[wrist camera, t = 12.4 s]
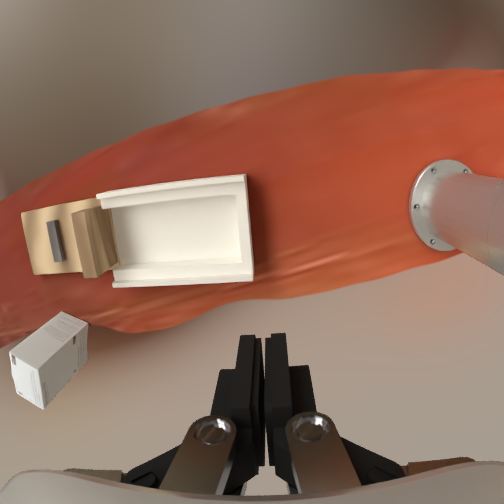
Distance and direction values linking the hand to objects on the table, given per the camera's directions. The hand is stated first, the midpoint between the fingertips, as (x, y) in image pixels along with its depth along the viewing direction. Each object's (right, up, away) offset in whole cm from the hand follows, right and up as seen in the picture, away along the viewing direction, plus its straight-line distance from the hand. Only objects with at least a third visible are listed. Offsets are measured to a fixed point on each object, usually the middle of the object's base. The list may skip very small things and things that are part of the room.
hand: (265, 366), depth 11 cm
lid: (-27, +7, +30) cm, 41 cm away
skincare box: (-30, -9, +35) cm, 47 cm away
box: (-10, +7, +29) cm, 31 cm away
